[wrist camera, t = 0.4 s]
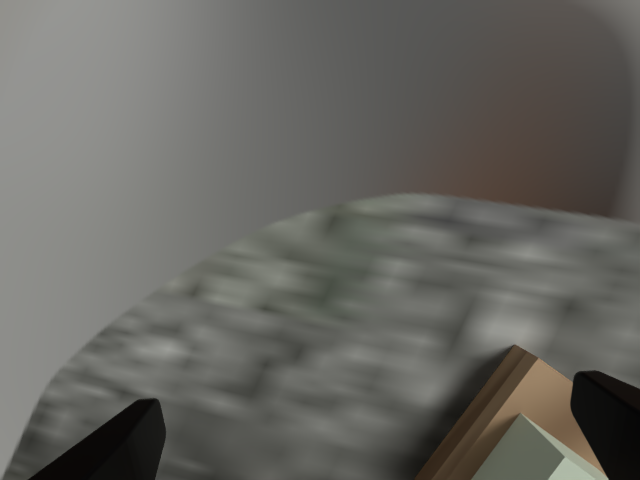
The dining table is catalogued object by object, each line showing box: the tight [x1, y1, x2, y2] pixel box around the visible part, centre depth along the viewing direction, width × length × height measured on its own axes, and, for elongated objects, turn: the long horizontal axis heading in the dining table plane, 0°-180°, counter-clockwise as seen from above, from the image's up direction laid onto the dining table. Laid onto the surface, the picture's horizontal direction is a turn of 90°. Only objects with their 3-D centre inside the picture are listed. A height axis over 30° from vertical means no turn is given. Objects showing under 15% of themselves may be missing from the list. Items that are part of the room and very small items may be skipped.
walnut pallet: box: [414, 345, 607, 480], centre depth 20 cm, size 6×9×3 cm, turn 144°
